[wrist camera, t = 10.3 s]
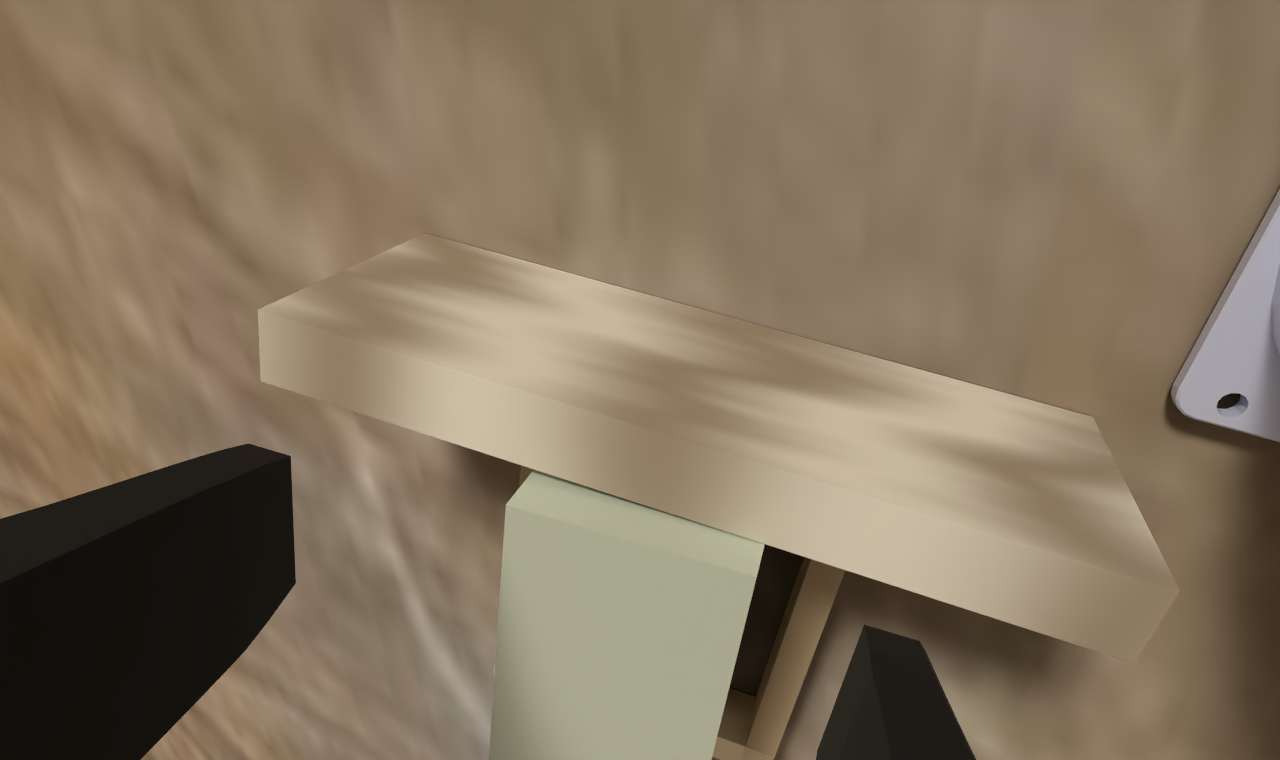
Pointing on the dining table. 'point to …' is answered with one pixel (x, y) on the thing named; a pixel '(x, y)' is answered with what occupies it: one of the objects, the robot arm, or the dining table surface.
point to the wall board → (741, 445)
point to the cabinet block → (614, 627)
